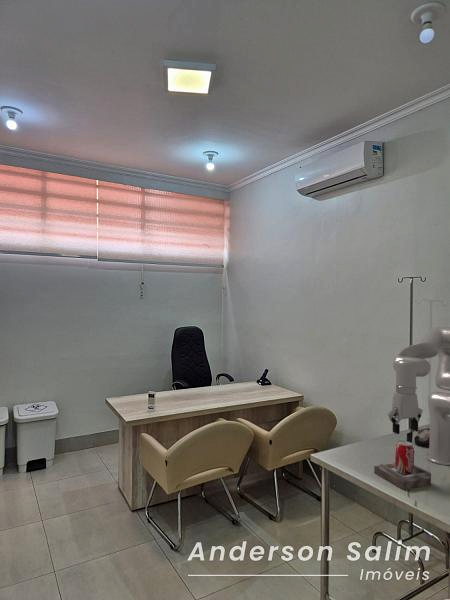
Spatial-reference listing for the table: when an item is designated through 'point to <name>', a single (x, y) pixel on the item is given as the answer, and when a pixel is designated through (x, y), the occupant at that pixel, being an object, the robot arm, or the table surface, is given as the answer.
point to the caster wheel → (423, 438)
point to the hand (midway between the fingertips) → (405, 431)
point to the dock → (404, 477)
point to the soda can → (404, 457)
